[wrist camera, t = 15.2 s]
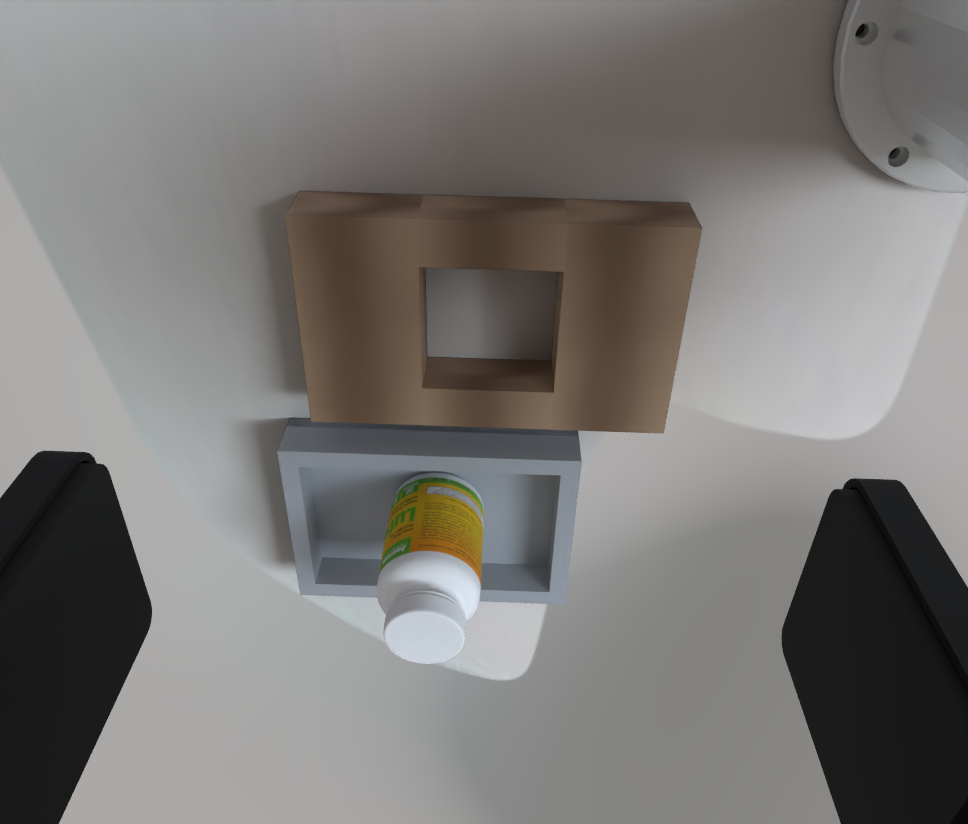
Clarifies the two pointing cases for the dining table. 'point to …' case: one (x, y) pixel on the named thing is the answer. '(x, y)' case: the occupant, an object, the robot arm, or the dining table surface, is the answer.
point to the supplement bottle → (431, 567)
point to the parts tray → (418, 450)
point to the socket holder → (496, 246)
